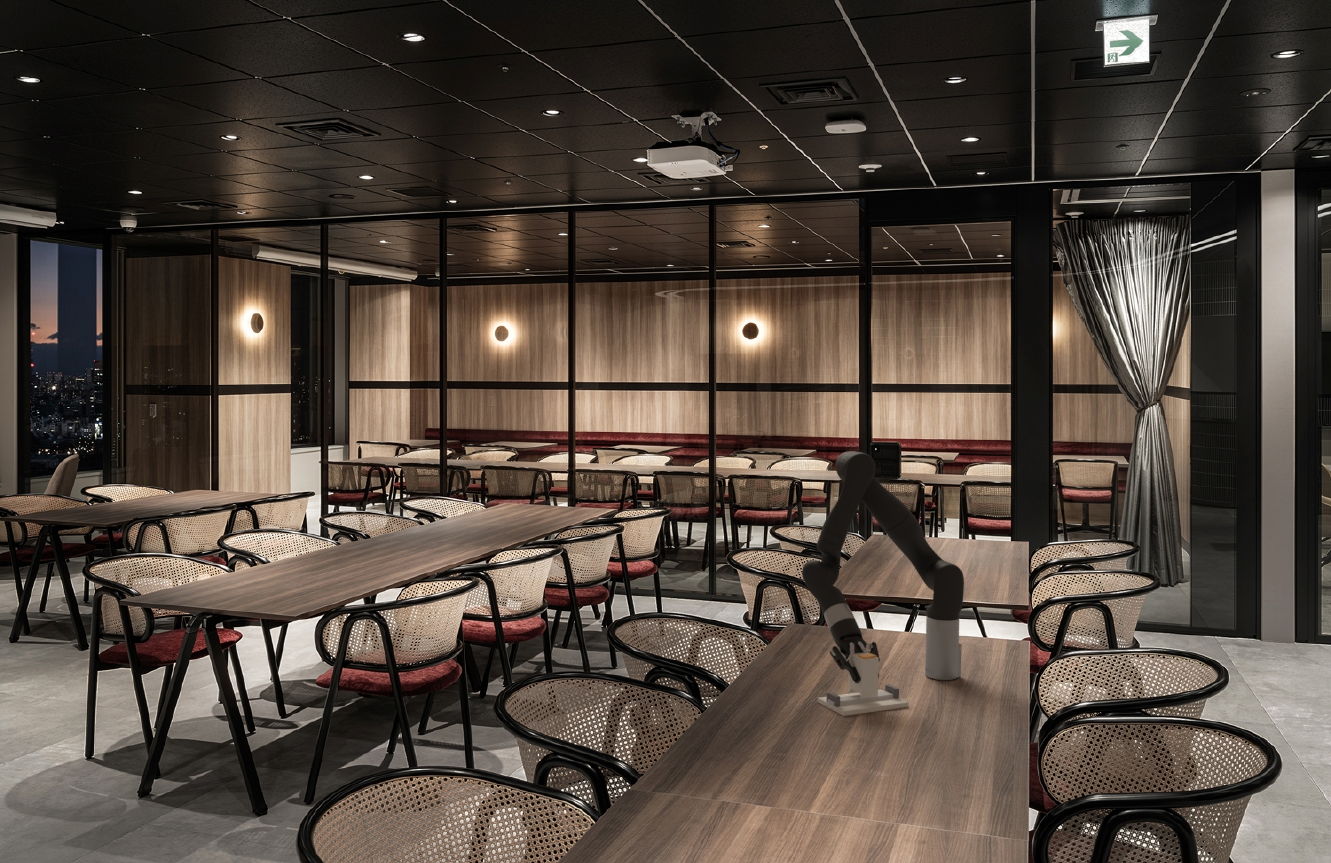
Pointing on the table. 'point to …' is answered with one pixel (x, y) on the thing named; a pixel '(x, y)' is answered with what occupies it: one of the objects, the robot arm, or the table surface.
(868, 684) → the rail module
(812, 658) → the table surface
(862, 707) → the mounting board
